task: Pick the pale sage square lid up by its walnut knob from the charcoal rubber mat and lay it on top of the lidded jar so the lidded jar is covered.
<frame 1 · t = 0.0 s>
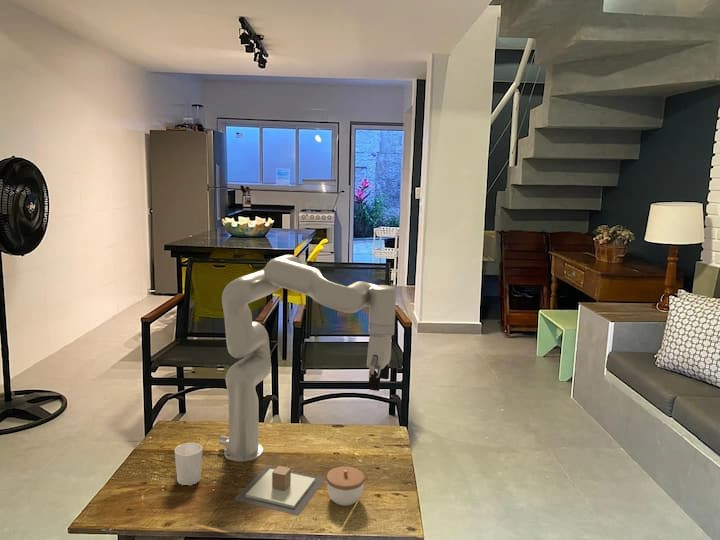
hand: (378, 384, 167), 31 cm above the table, tool pointing down, fingers open, 9 cm apart
mat: (281, 490, 166), on the table
white cup: (189, 480, 169), on the table
lidded jar: (344, 501, 162), on the table
lid sheet: (281, 488, 165), point 1 cm above the table, touching mat
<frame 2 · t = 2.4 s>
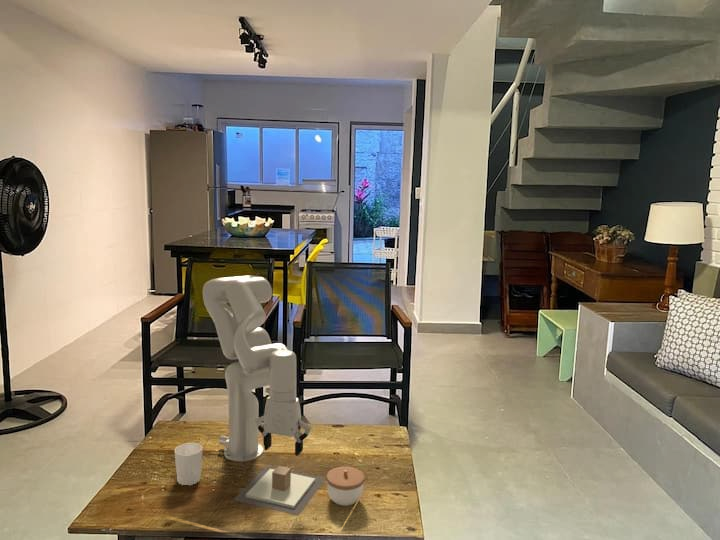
hand: (283, 450, 163), 13 cm above the table, tool pointing down, fingers open, 9 cm apart
nothing on the table moved.
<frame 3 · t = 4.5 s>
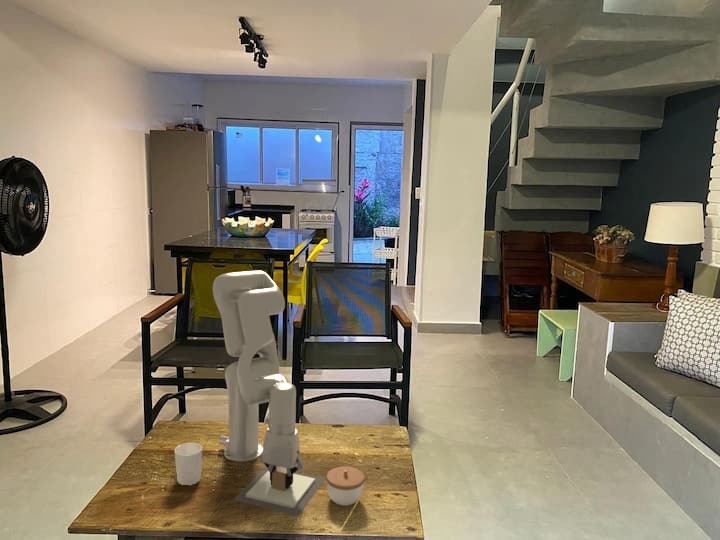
hand: (281, 483, 165), 2 cm above the table, tool pointing down, fingers closed on lid sheet, 4 cm apart
lid sheet: (281, 488, 165), point 1 cm above the table, touching gripper, mat
everything else where it was.
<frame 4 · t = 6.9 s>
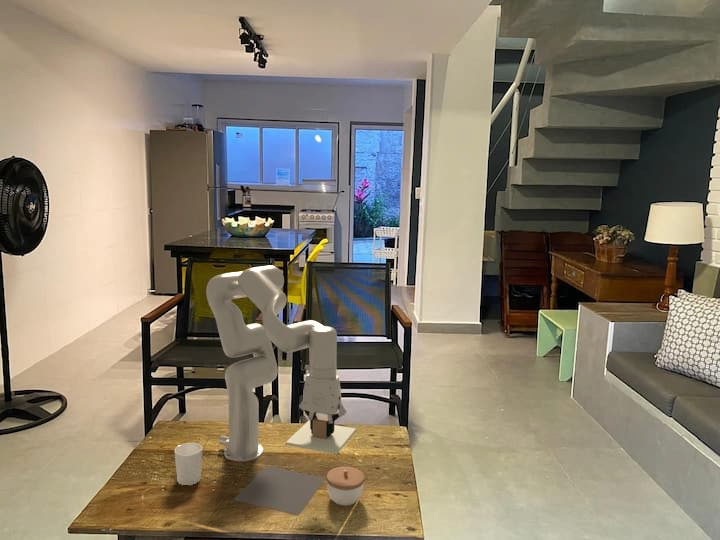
hand: (322, 432, 159), 20 cm above the table, tool pointing down, fingers closed on lid sheet, 4 cm apart
lid sheet: (321, 437, 159), point 18 cm above the table, touching gripper
everything else where it was.
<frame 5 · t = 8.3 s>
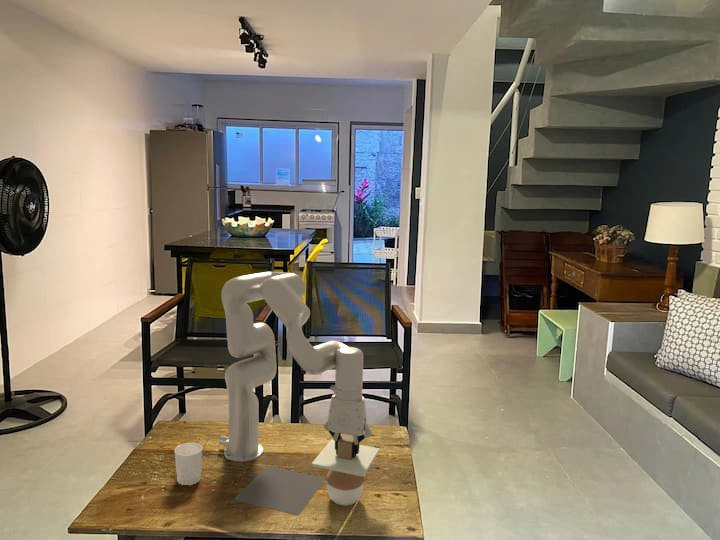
hand: (346, 453, 159), 15 cm above the table, tool pointing down, fingers closed on lid sheet, 4 cm apart
lid sheet: (346, 458, 159), point 13 cm above the table, touching gripper
everything else where it was.
when the fingers open (12 cm above the table, at t = 9.5 s): lid sheet drops 1 cm, resting on lidded jar.
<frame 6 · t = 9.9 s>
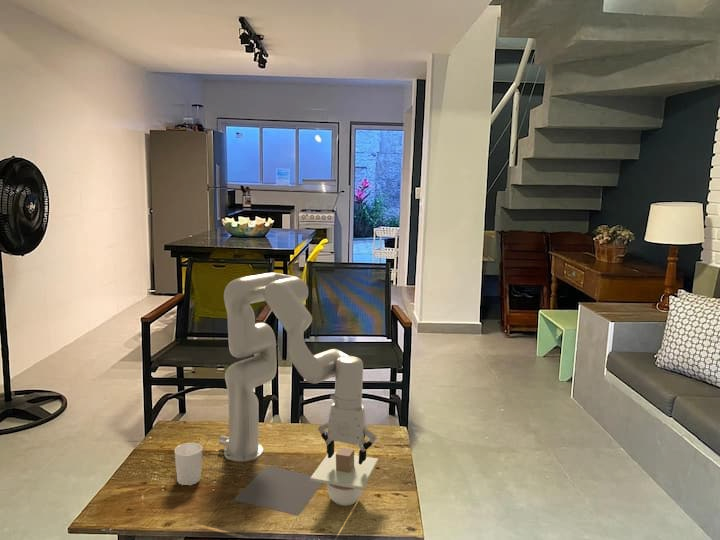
hand: (346, 458, 159), 13 cm above the table, tool pointing down, fingers open, 8 cm apart
lidded jar: (344, 501, 162), on the table, touching lid sheet
lid sheet: (345, 470, 160), point 9 cm above the table, touching lidded jar
everything else where it was.
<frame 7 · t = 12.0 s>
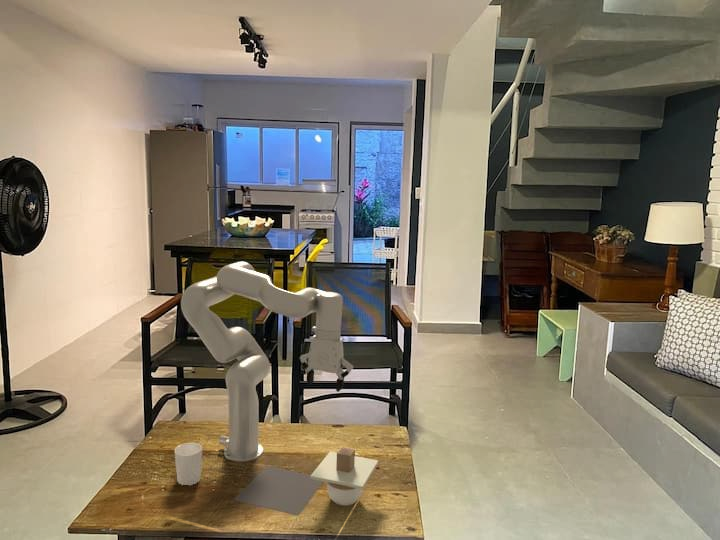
hand: (324, 386, 173), 27 cm above the table, tool pointing down, fingers open, 9 cm apart
nothing on the table moved.
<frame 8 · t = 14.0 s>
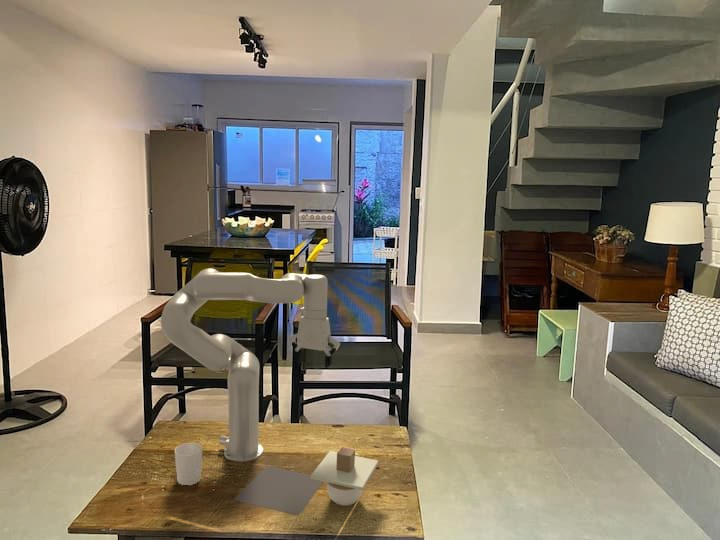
hand: (313, 364, 184), 30 cm above the table, tool pointing down, fingers open, 9 cm apart
nothing on the table moved.
at the end: lid sheet 0.1 cm from the lidded jar (horizontally); lid sheet point 9.4 cm above the table; the gripper is holding nothing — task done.
